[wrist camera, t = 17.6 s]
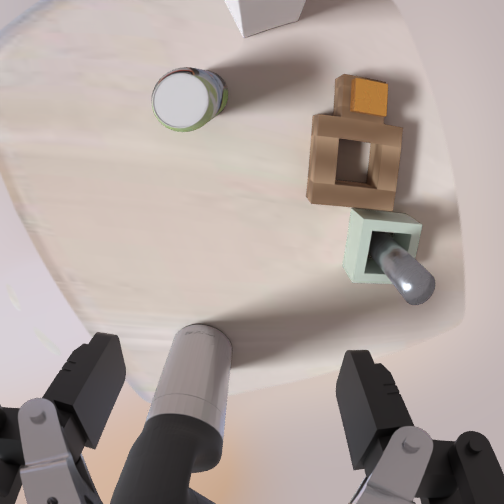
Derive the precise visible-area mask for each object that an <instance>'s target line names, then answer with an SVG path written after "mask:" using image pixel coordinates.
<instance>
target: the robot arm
mask: <svg viewBox="0 0 504 504" xmlns="http://www.w3.org/2000/svg"><path fill="white" fill-rule="evenodd" d="M231 358H232V346H231V343H230V341H229V339H228V338H227V337H226V336H225V335H224V334H223V333H222V332H221V331H219V330H217V329H216V328H213V327H210V326H207V325H190V326H187V327H185V328H183V329H181V330H180V331H179V332H178V333H177V334H176V336H175V338H174V340H173V343H172V346H171V349H170V352H169V354H168V357H167V360H166V363H165V365H164V368H163V371H162V374H161V377H160V380H159V383H158V386H157V389H156V392H155V395H154V398H153V401H152V404H151V407H150V410H149V413H148V416H147V419H146V422H145V425H144V428H143V431H142V433H141V434H140V436H139V437H138V438H137V440H136V441H135V443H134V444H133V446H132V448H131V450H130V452H129V454H128V457H127V460H126V462H125V465H124V467H123V470H122V473H121V475H120V478H119V481H118V483H117V485H116V488H115V490H114V493H113V496H112V499H111V502H110V504H215V503H214V502H212V501H210V500H209V499H207V498H206V497H204V496H202V495H201V494H199V493H197V492H195V491H194V490H192V489H191V488H189V481H190V477H191V473H197V472H203V471H208V470H210V469H212V468H214V467H215V466H216V465H217V464H218V463H219V461H220V459H221V455H222V447H223V446H222V445H223V436H224V426H225V415H226V405H227V395H228V386H229V376H230V368H231ZM125 376H126V367H125V363H124V358H123V354H122V350H121V345H120V341H119V338H118V336H117V335H113V334H107V333H100V332H97V333H96V334H95V335H94V337H93V338H92V339H91V341H90V342H89V344H83V345H81V346H80V347H79V348H77V349H76V350H74V351H73V352H72V354H71V355H70V357H69V358H68V360H67V362H66V363H65V364H64V366H63V367H62V370H60V371H59V373H58V374H57V376H56V377H55V379H54V381H53V382H52V383H51V385H50V387H49V388H48V390H47V391H46V393H45V394H44V396H43V397H42V398H35V399H31V400H29V401H27V402H26V403H24V404H23V405H22V406H21V408H5V407H1V405H0V504H15V502H16V499H17V496H18V493H19V491H20V488H21V486H22V485H23V489H24V493H25V497H26V501H27V504H103V503H102V501H101V499H100V497H99V495H98V493H97V491H96V488H95V486H94V484H93V481H92V479H91V477H90V474H89V471H88V469H87V466H86V463H85V461H84V458H83V456H82V454H81V453H82V450H83V448H84V446H86V447H89V448H92V449H96V446H97V444H98V442H99V439H100V437H101V434H102V432H103V430H104V427H105V425H106V422H107V420H108V418H109V415H110V413H111V410H112V409H113V406H114V404H115V402H116V399H117V397H118V395H119V393H120V391H121V388H122V386H123V384H124V381H125ZM336 397H337V401H338V406H339V409H340V414H341V418H342V422H343V426H344V430H345V435H346V439H347V443H348V448H349V452H350V456H351V461H352V465H353V469H354V470H359V469H365V473H366V477H365V478H364V480H363V481H362V483H361V484H360V486H359V488H358V489H357V491H356V493H355V494H354V496H353V497H352V499H351V500H350V502H349V503H348V504H416V503H415V502H413V499H414V497H417V498H420V499H421V503H422V504H504V474H503V472H502V469H501V467H500V465H499V462H498V460H497V458H496V456H495V453H494V451H493V449H492V447H491V445H490V442H489V441H488V439H487V438H486V437H485V436H484V435H482V434H481V433H478V432H475V431H468V432H464V433H463V434H461V435H460V436H459V437H458V439H457V440H456V441H440V440H432V438H431V437H430V435H429V434H428V433H427V432H426V431H424V430H423V429H421V428H418V427H415V426H414V424H413V422H412V420H411V417H410V415H409V413H408V410H407V408H406V406H405V403H404V401H403V399H402V397H401V395H400V394H399V390H398V388H397V386H396V385H395V381H394V379H393V377H392V375H391V373H390V372H389V371H388V370H387V369H386V368H385V367H384V366H383V365H382V364H381V363H379V364H374V361H373V359H372V357H371V354H370V352H369V351H368V350H348V351H346V353H345V355H344V359H343V362H342V366H341V369H340V373H339V376H338V379H337V383H336Z"/></svg>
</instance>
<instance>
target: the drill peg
mask: <svg viewBox="0 0 504 504" xmlns="http://www.w3.org/2000/svg"><path fill="white" fill-rule="evenodd" d="M368 253H369V255H370V256H371V257H372V258H373V260H374V261H375V262H376V263H377V264H378V266H379V267H380V268H381V269H382V271H383V272H384V273H385V274H386V276H387V277H388V278H389V279H390V281H391V282H392V283H393V285H394V286H395V287H396V288H397V290H398V291H399V292H400V294H401V295H402V296H403V298H404V299H405V300H406V301H407V302H408V303H409V304H411V305H419V304H422V303H424V302H425V301H427V300H428V299H429V298H430V296H431V295H432V293H433V291H434V289H435V279H434V277H433V276H432V275H431V274H430V273H429V272H428V271H427V270H426V269H425V268H424V267H423V266H422V265H421V264H420V263H419V262H418V261H417V260H416V259H415V258H414V257H412V256H411V255H410V254H409V253H408V252H407V251H406V250H405V249H404V248H403V247H402V246H401V245H399V244H398V243H397V242H396V241H395V240H394V239H393V238H392V237H391V236H389V235H388V234H387V233H386V232H382V231H372V234H371V240H370V245H369V251H368Z"/></svg>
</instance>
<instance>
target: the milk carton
mask: <svg viewBox="0 0 504 504" xmlns="http://www.w3.org/2000/svg"><path fill="white" fill-rule="evenodd" d="M224 1H225V3H226V5H227V7H228V9H229V10H230V12H231V14H232V16H233V18H234V20H235V22H236V24H237V26H238V28H239V30H240V32H241V34H242V36H243V38H245V37H248V36H251V35H254V34H257V33H259V32H262V31H265V30H269V29H272V28H275V27H278V26H281V25H285V24H288V23H292V22H295V21H298V19H299V17H300V14H301V12H302V9H303V7H304V4H305V2H306V0H224Z"/></svg>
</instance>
